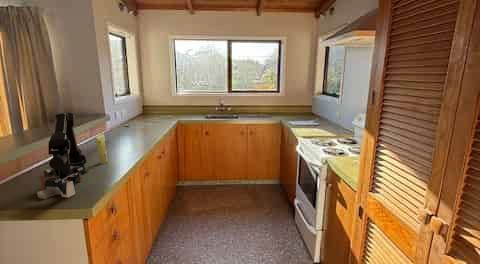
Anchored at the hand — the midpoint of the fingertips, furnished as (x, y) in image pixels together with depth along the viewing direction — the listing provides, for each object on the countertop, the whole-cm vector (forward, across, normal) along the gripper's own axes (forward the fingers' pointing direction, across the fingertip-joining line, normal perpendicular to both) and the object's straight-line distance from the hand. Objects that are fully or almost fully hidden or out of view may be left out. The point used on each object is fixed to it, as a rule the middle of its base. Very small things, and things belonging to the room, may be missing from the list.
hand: (68, 192), depth 131 cm
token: (+2, +1, -11) cm, 12 cm away
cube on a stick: (+2, -1, -6) cm, 7 cm away
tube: (+2, -48, -15) cm, 50 cm away
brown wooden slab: (+2, -11, -13) cm, 17 cm away
